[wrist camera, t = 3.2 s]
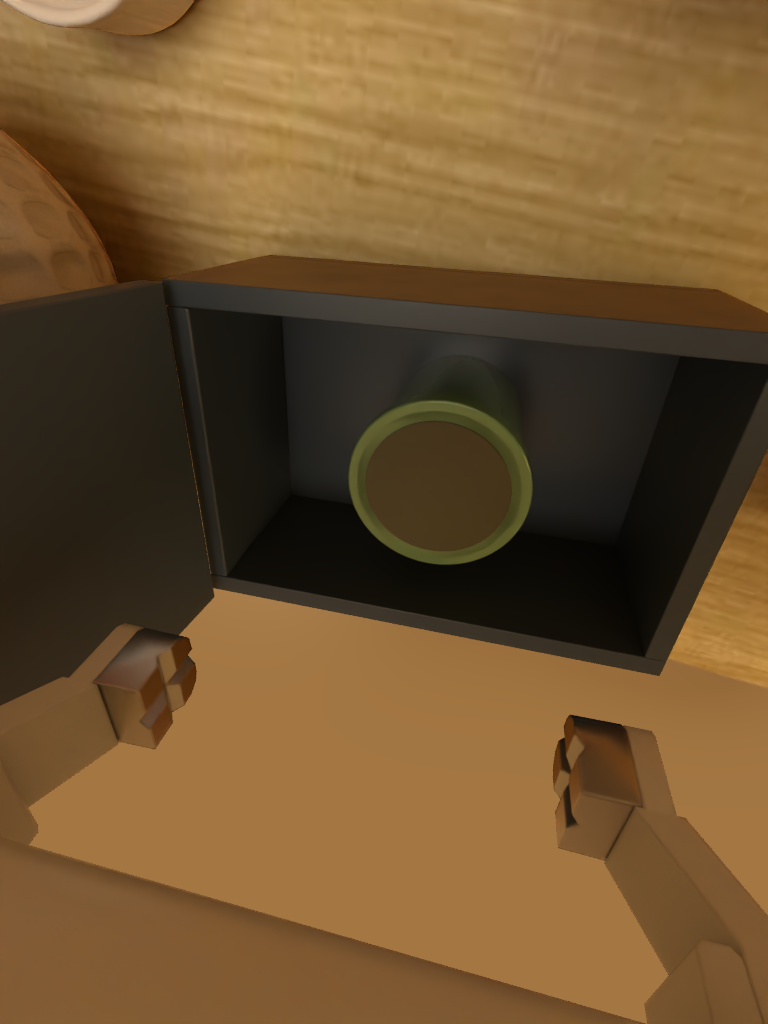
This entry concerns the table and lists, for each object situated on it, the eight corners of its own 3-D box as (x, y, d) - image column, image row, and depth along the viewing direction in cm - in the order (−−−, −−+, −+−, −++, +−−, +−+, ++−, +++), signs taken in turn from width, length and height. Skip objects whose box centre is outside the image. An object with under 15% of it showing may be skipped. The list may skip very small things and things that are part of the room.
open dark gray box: (719, 289, 20) (822, 337, 13) (624, 552, 27) (659, 676, 20) (269, 254, 23) (160, 278, 16) (284, 497, 30) (212, 588, 23)
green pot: (544, 356, 22) (551, 414, 16) (516, 491, 25) (514, 580, 20) (392, 340, 23) (347, 389, 17) (385, 472, 27) (346, 550, 21)
